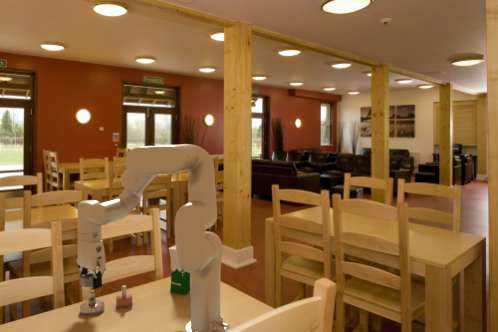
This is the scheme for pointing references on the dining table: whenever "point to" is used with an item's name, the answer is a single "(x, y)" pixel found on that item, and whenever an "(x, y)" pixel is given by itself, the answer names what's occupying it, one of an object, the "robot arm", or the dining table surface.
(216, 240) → the robot arm
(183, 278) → the milk carton
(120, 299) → the stand
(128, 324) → the dining table surface
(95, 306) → the hub
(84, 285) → the grey short cylinder
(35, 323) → the dining table surface
